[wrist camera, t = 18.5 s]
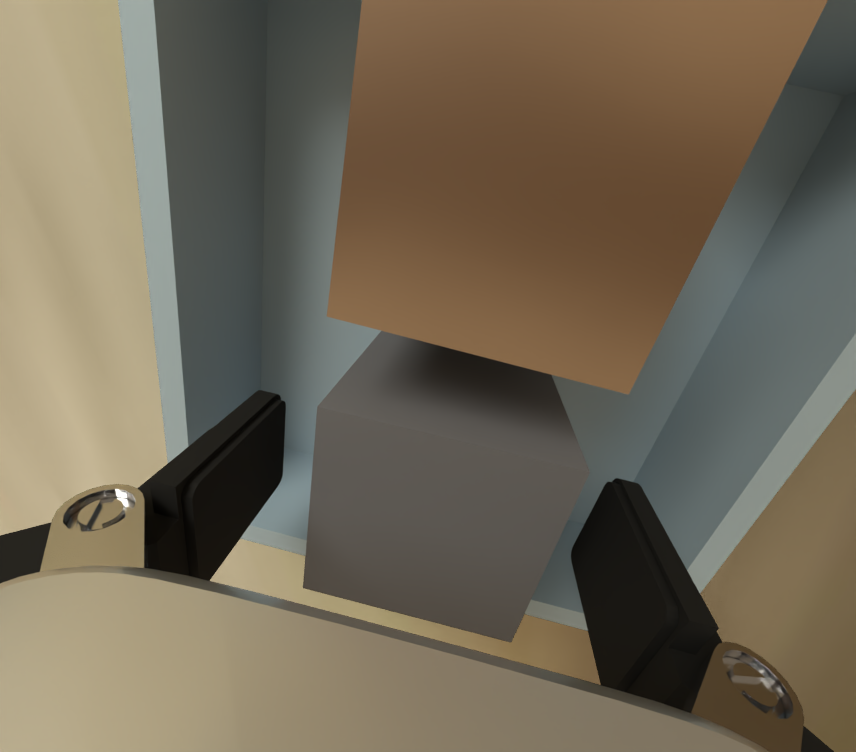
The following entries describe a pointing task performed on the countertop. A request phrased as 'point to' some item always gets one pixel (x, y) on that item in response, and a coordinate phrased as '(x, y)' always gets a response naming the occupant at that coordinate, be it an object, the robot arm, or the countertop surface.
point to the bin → (344, 342)
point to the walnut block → (547, 168)
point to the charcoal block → (440, 485)
